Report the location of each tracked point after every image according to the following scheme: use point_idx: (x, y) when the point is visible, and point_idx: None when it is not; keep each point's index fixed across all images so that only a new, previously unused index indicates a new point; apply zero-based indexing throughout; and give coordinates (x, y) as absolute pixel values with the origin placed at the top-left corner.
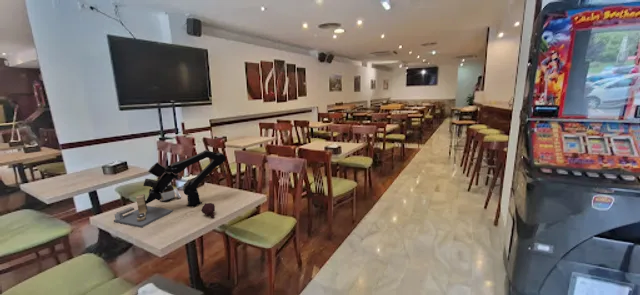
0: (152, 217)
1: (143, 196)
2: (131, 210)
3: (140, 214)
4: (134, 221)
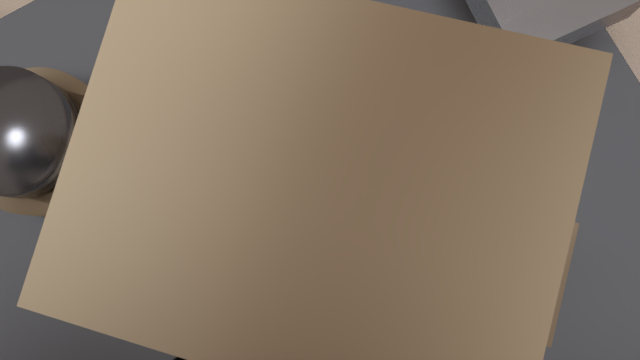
0: (12, 315)
1: (46, 311)
2: (475, 12)
3: (6, 123)
4: (94, 44)
